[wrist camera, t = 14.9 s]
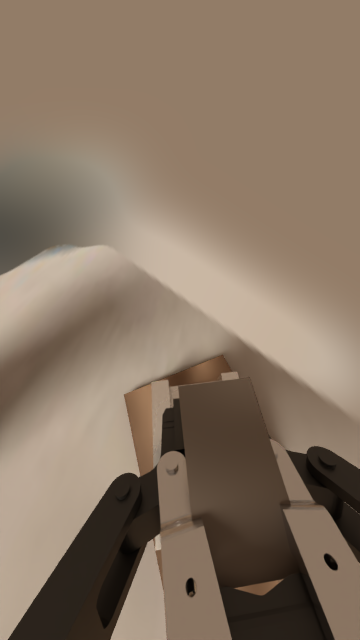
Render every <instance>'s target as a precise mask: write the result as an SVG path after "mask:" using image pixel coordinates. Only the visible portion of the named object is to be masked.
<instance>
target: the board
mask: <svg viewBox="0 0 360 640" xmlns="http://www.w3.org/2000/svg"><path fill="white" fill-rule="evenodd" d="M228 372H232V371H231V369H230V367H229V365H228V363H227V362H226V360H225V358H224V356H223V355H221V356H218V357H216V358H213V359H211V360H209V361H206V362H204V363H201V364H199V365H196V366H194V367H191V368H189V369H186V370H184V371H181V372H179V373H176V374H174V375H171V376H169V377H166V378H164V379H161V380H159V381H163V380H168V381H169V384H170V387H173V386H181V385H189V384H197V383H205V382H213V381H216V380H217V378H218V377H219V375H220V374H221V373H228ZM124 397H125V402H126V407H127V412H128V417H129V422H130V427H131V431H132V436H133V441H134V446H135V451H136V456H137V461H138V466H139V471H140V476H143V475H145V474H147V473H148V472H150V471H151V470H153V469H154V467H153V426H152V384H149V385H146V386H144V387H142V388H139V389H137V390H134V391H132V392H129V393H127V394H124ZM153 541H154V546H155V537H154V538H153ZM156 555H157V560H158V565H159V570H160V575H161V580H162V585H163V571H162V555H161V550H156ZM277 584H278V580H276V581H271V582H265V583H260V584H255V585H249V586H244V587H238V588H234V589H238V590H242V591H245V592H249V593H253V594H256V595H265V594H266V593H267V592H269V591H270V590H271V589H272V588H274V587H275V586H276V585H277ZM163 590H164V586H163Z"/></svg>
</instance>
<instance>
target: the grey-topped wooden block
mask: <svg viewBox="0 0 360 640" xmlns="http://www.w3.org/2000/svg"><path fill="white" fill-rule="evenodd" d="M178 391H179V401H180V410H181V420H182V430H183V439H184V449H185V459H186V469H187V478H188V488H189V498H190V507H191V517H192V519H196V518H199V517H201V518H202V521H203V525H204V529H205V533H206V537H207V541H208V545H209V549H210V553H211V557H212V561H213V565H214V569H215V573H216V577H217V581H218V585H219V588H221V587H230V588H238V587H244V586H249V585H255V584H260V583H265V582H271V581H276V580H282V579H285V578H286V577H287V576H288V575H292V574H297V573H301V570H300V568H299V566H298V563H297V561H296V559H295V558H294V556H293V555H292V554H291V552H290V548H289V543H288V539H287V535H286V531H285V526H284V522H283V518H282V513H281V509H280V505H279V504H291V503H290V500H289V497H288V494H287V491H286V488H285V485H284V481H283V478H282V475H281V472H280V469H279V466H278V463H277V460H276V457H275V454H274V451H273V448H272V445H271V441H270V438H269V435H268V432H267V429H266V426H265V423H264V420H263V417H262V414H261V411H260V408H259V405H258V402H257V398H256V395H255V392H254V389H253V386H252V383H251V380H250V377H249V378H241V379H233V380H225V381H217V382H208V383H200V384H192V385H184V386H178Z"/></svg>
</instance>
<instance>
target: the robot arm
mask: <svg viewBox="0 0 360 640" xmlns="http://www.w3.org/2000/svg"><path fill="white" fill-rule="evenodd" d="M269 438H270V436H269ZM270 441H271V445H272V448H273V451H274V454H275V457H276V460H277V463H278V466H279V469H280V472H281V475H282V478H283V481H284V485H285V488H286V491H287V494H288V497H289V500H290V503H291V504H279V505H280V509H281V513H282V518H283V522H284V526H285V531H286V535H287V539H288V543H289V548H290V552H291V554H292V555H293V556H294V558H295V559H296V561H297V563H298V566H299V568H300V570H301V573H297V574H292V575H288V576H287V577H286V578H285V579H282V580H278V584H277V585H276V586H275V587H274V588H272V589H271V590H270V591H269V592H267V593H266V594H265V595H256V594H253V593H249V592H245V591H242V590H238V589H234V588H230V587H221V588H219V585H218V581H217V577H216V573H215V569H214V565H213V561H212V557H211V553H210V549H209V545H208V541H207V537H206V533H205V529H204V525H203V521H202V518H201V517H199V518H196V519H192V517H191V507H190V498H189V488H188V478H187V469H186V459H185V449H184V439H183V430H182V420H181V410H180V401H179V398H175V399H173V407H172V408H166V409H165V411H164V413H163V415H162V438H161V456H160V460H159V462H158V464H157V465H156V466H155V468H154V469H153V470H151V471H150V472H148V473H147V474H145V475H143V476H141V477H139V478H138V477H137V476H136V475H135V474H133V473H125V474H122V475H120V476H119V477H117V478H116V479H115V480H114V481H113V482H112V484H111V485H110V486H109V488H108V489H107V491H106V492H105V494H104V496H103V497H102V499H101V500H100V502H99V503H98V505H97V506H96V508H95V509H94V511H93V512H92V514H91V515H90V517H89V518H88V520H87V521H86V523H85V524H84V526H83V527H82V529H81V530H80V532H79V533H78V535H77V536H76V538H75V539H74V541H73V542H72V544H71V545H70V547H69V548H68V550H67V551H66V553H65V554H64V556H63V557H62V559H61V560H60V562H59V563H58V565H57V566H56V568H55V569H54V571H53V572H52V574H51V575H50V577H49V578H48V580H47V581H46V583H45V584H44V586H43V587H42V589H41V590H40V592H39V593H38V595H37V596H36V598H35V599H34V601H33V602H32V604H31V605H30V607H29V608H28V610H27V611H26V613H25V615H24V616H23V618H22V619H21V621H20V622H19V624H18V625H17V627H16V628H15V630H14V631H13V633H12V634H11V636H10V637H9V639H8V640H110V639H111V636H112V633H113V631H114V628H115V626H116V623H117V620H118V618H119V615H120V613H121V610H122V607H123V605H124V602H125V600H126V597H127V594H128V592H129V589H130V587H131V584H132V581H133V579H134V576H135V574H136V571H137V568H138V566H139V563H140V560H141V558H142V555H143V553H144V550H145V547H146V545H147V542H149V541H150V540H152V539H153V538H154V537H156V536H157V535H159V534H160V538H161V555H162V571H163V586H164V602H165V617H166V633H167V640H360V564H359V563H360V469H358V468H357V467H355V466H354V465H352V464H351V463H349V462H347V461H346V460H344V459H343V458H341V457H340V456H338V455H337V454H335V453H333V452H332V451H330V450H328V449H326V448H323V447H318V446H314V447H310V448H309V449H308V451H307V454H303V453H297V452H291V451H288V450H285V449H284V447H283V446H282V445H281V444H279V443H278V442H276V441H274V440H272V439H271V438H270ZM346 503H347V504H348V505H349V506H348V505H347V504H346ZM351 507H352V508H353V509H354V510H353V509H352V508H351ZM356 511H357V512H358V513H359V514H358V513H357V512H356ZM358 562H359V563H358Z"/></svg>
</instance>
